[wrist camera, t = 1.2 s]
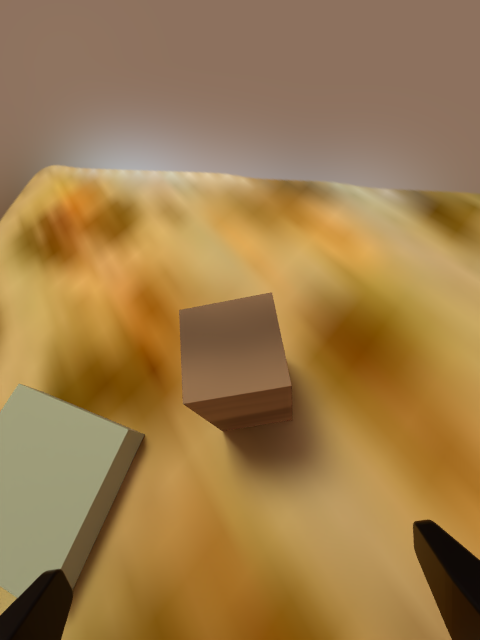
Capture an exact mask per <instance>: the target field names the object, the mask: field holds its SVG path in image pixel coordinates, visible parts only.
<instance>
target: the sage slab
mask: <svg viewBox="0 0 480 640" xmlns="http://www.w3.org/2000/svg"><path fill="white" fill-rule="evenodd" d="M143 437H144V434H142V433H140V432H138V431H135V430H133V429H130V428H128V427H126V426H123V425H121V424H118V423H116V422H114V421H111V420H109V419H106V418H104V417H102V416H99V415H97V414H95V413H92V412H90V411H87V410H85V409H83V408H80V407H78V406H75V405H73V404H71V403H68V402H66V401H63V400H61V399H59V398H56V397H54V396H51V395H49V394H47V393H44V392H42V391H39V390H36V389H33V388H30V387H27V386H25V385H22V384H18V386H17V387H16V389H15V390H14V392H13V393H12V395H11V396H10V398H9V400H8V401H7V403H6V404H5V406H4V407H3V409H2V410H1V412H0V586H1V587H2V588H4V589H5V590H7V591H8V592H10V593H11V594H12V595H14V596H15V597H17V598H18V597H19V596H20V595H21V594H22V593H23V592H24V591H25V590H26V589H27V588H28V587H29V586H30V585H31V584H32V583H33V582H34V581H35V580H36V579H37V578H38V577H39V576H40V575H41V574H42V573H43V572H45V571H47V570H54V569H61V570H63V572H64V574H65V576H66V577H67V579H68V581H69V583H70V585H71V587H72V590H73V588H74V586H75V584H76V581H77V579H78V577H79V575H80V573H81V571H82V568H83V566H84V564H85V562H86V560H87V558H88V555H89V553H90V551H91V549H92V547H93V545H94V543H95V540H96V538H97V536H98V534H99V532H100V530H101V527H102V525H103V523H104V521H105V519H106V517H107V514H108V512H109V510H110V508H111V506H112V504H113V501H114V499H115V497H116V495H117V493H118V491H119V489H120V486H121V484H122V482H123V480H124V478H125V476H126V473H127V471H128V469H129V467H130V465H131V463H132V460H133V458H134V456H135V454H136V452H137V450H138V447H139V445H140V443H141V441H142V439H143Z"/></svg>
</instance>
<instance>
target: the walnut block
mask: <svg viewBox="0 0 480 640" xmlns="http://www.w3.org/2000/svg"><path fill="white" fill-rule="evenodd" d="M179 316H180V340H181V365H182V390H183V404H184V405H185V406H187V407H188V408H190V409H191V410H193V411H194V412H196V413H197V414H198V415H200V416H201V417H203V418H204V419H206V420H207V421H209V422H210V423H211V424H213V425H214V426H216V427H217V428H219V429H220V430H222V431H227V430H233V429H239V428H245V427H252V426H258V425H264V424H270V423H277V422H283V421H289V420H292V386H291V381H290V376H289V371H288V367H287V362H286V357H285V352H284V348H283V343H282V338H281V333H280V329H279V324H278V319H277V314H276V310H275V305H274V300H273V295H272V293H266V294H261V295H256V296H251V297H246V298H240V299H235V300H230V301H225V302H220V303H214V304H209V305H204V306H199V307H193V308H188V309H183V310H179Z"/></svg>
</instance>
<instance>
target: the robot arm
mask: <svg viewBox="0 0 480 640" xmlns="http://www.w3.org/2000/svg"><path fill="white" fill-rule="evenodd" d="M413 536H414V549H415V553H416V556H417V558H418V561H419V563H420V565H421V568H422V570H423V572H424V575H425V577H426V580H427V582H428V584H429V587H430V589H431V591H432V594H433V596H434V599H435V601H436V603H437V606H438V608H439V610H440V613H441V615H442V618H443V620H444V622H445V625H446V627H447V629H448V632H449V634H450V636H451V638H452V640H480V560H479V559H478V558H477V557H475V556H474V555H473V554H472V553H471V552H469V551H468V550H467V549H466V548H465V547H463V546H462V545H461V544H460V543H459V542H457V541H456V540H455V539H454V538H453V537H452V536H450V535H449V534H448V533H447V532H446V531H444V530H443V529H442V528H441V527H440V526H438V525H437V524H436V523H435V522H433V521H431V520H421V521H415V522H414V523H413ZM72 598H73V590H72V587H71V585H70V583H69V581H68V579H67V577H66V576H65V574H64V572H63V570H61V569H54V570H47V571H45V572H43V573H42V574H41V575H40V576H39V577H38V578H37V579H36V580H35V581H34V582H33V583H32V584H31V585H30V586H29V587H28V588H27V589H26V590H25V591H24V592H23V593H22V594H21V595H20V596H19V597H18V598H17V599H16V600H15V601H14V602H13V603H12V604H11V605H10V606H9V607H8V608H7V609H6V610H5V611H4V612H3V613H2V614H1V615H0V640H61V638H62V634H63V631H64V627H65V624H66V620H67V617H68V613H69V610H70V606H71V603H72Z"/></svg>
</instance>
